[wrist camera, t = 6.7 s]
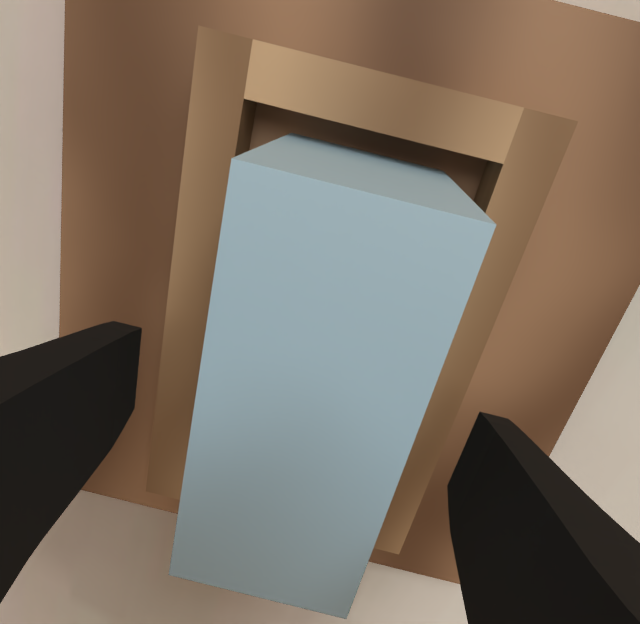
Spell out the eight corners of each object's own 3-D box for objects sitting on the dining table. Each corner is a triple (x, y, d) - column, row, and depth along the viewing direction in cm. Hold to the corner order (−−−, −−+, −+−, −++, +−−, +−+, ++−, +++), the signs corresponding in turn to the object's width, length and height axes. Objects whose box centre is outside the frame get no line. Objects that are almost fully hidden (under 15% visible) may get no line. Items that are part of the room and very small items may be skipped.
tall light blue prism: (236, 415, 16) (169, 574, 11) (291, 132, 13) (231, 159, 7) (355, 445, 16) (346, 619, 11) (442, 170, 13) (496, 224, 7)
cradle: (71, 465, 19) (31, 514, 17) (90, -107, 12) (24, -154, 10) (473, 565, 19) (487, 628, 17) (732, 56, 12) (815, 46, 10)
